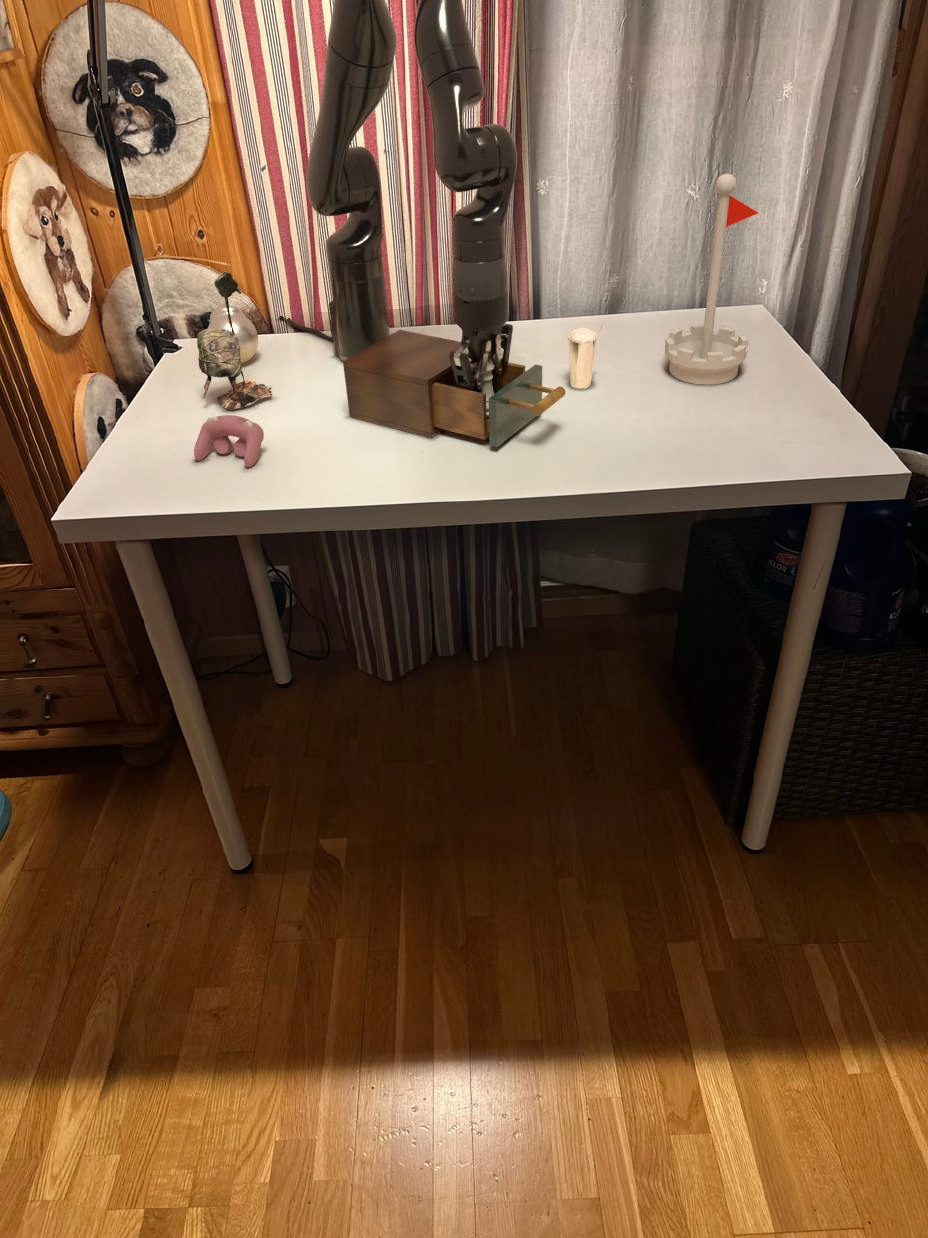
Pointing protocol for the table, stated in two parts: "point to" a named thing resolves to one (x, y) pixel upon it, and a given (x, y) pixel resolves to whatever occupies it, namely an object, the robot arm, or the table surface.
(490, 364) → the rook chess piece
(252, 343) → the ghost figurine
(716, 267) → the flag stand
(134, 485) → the table surface
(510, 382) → the drawer
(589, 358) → the milkshake
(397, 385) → the cabinet
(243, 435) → the video game controller
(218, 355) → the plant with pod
